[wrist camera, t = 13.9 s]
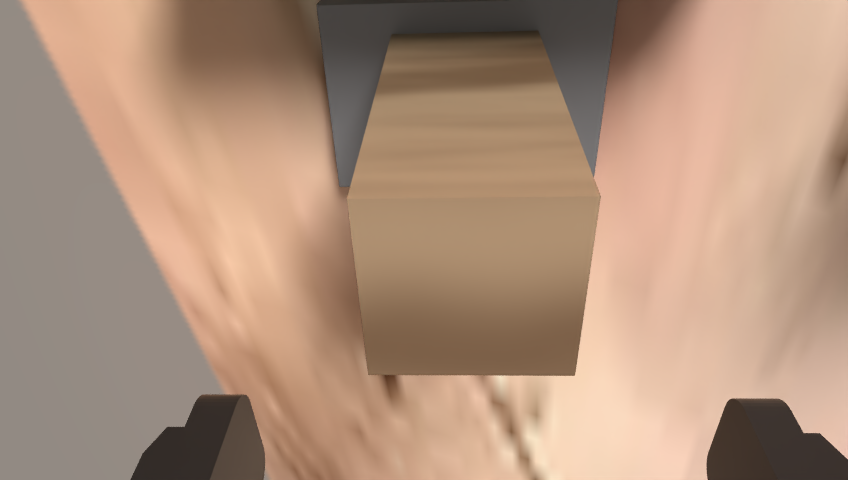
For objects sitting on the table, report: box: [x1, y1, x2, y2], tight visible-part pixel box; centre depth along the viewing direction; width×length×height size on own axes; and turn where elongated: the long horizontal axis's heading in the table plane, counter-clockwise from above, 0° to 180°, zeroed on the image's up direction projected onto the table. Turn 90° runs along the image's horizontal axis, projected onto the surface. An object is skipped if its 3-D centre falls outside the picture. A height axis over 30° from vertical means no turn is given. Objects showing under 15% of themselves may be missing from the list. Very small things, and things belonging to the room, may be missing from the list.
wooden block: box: [347, 31, 601, 376], centre depth 18 cm, size 5×5×11 cm
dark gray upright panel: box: [317, 0, 618, 187], centre depth 23 cm, size 7×10×1 cm
